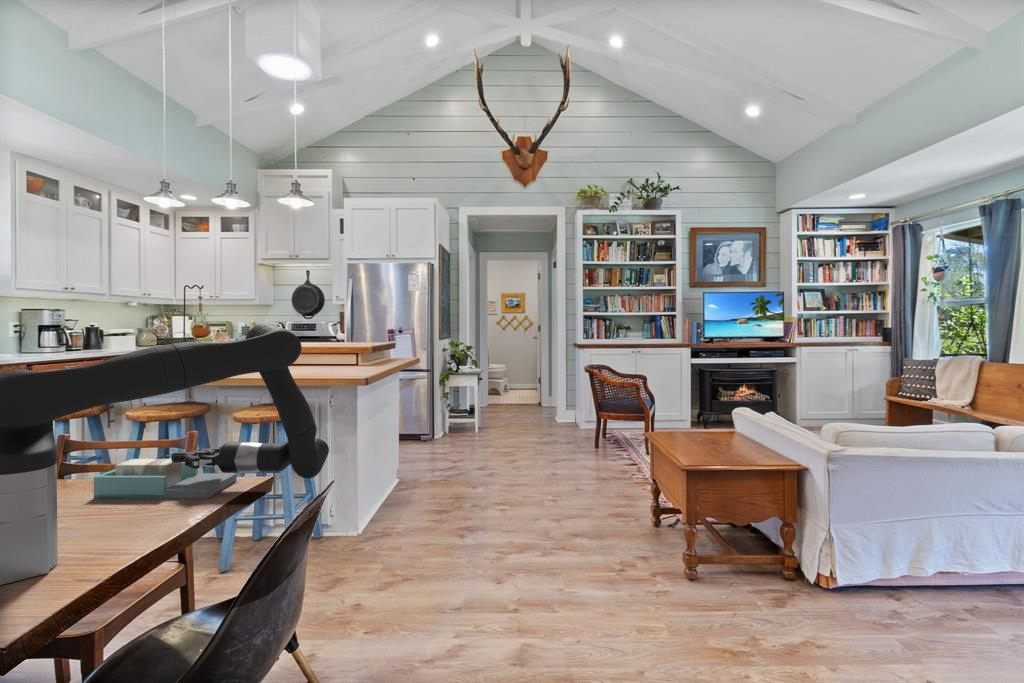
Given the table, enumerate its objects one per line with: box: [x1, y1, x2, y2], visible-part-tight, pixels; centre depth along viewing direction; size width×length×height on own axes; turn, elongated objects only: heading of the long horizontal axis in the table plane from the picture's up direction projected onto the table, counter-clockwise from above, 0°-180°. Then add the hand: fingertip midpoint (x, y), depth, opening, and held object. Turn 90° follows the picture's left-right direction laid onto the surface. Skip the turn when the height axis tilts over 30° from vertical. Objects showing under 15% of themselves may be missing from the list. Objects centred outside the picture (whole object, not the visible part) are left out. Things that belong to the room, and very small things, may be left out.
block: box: [115, 458, 181, 488], centre depth 128 cm, size 6×6×12 cm
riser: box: [163, 472, 238, 499], centre depth 129 cm, size 10×14×2 cm
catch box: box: [93, 462, 199, 499], centre depth 128 cm, size 16×14×5 cm
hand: (173, 457), depth 128 cm, fingers closed
